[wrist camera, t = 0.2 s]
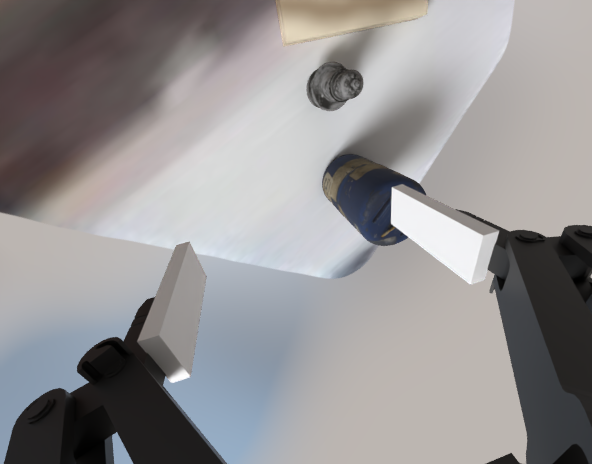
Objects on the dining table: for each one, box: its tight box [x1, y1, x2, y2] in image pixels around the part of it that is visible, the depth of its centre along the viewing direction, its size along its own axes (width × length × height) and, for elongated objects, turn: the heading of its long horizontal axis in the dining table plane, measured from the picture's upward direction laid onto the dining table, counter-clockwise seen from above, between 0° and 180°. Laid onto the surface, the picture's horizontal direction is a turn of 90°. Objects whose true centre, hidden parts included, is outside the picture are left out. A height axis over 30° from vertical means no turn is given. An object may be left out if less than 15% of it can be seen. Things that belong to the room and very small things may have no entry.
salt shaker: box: [307, 62, 363, 111], centre depth 31 cm, size 6×6×12 cm
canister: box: [322, 154, 426, 246], centre depth 36 cm, size 10×10×18 cm
